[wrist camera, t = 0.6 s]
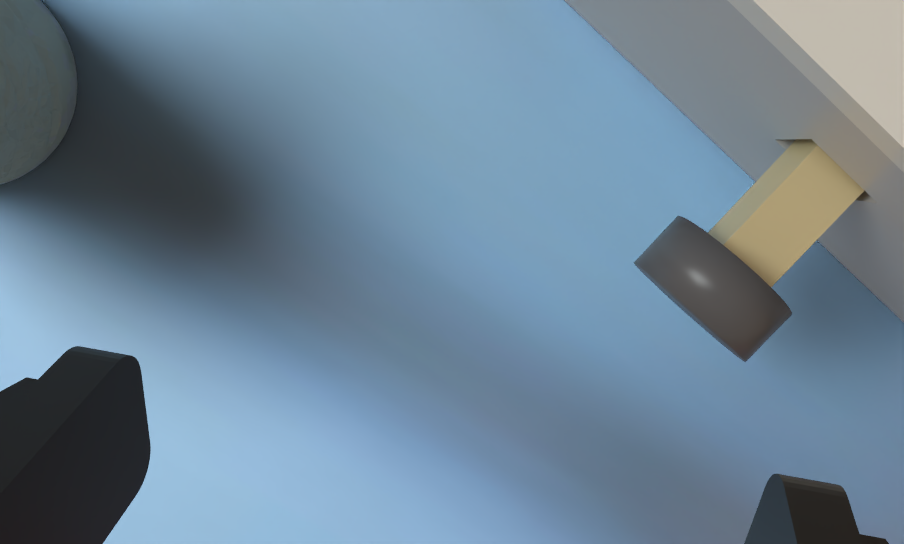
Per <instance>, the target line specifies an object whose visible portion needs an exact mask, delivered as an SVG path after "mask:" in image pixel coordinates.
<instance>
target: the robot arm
mask: <svg viewBox="0 0 904 544" xmlns="http://www.w3.org/2000/svg"><path fill="white" fill-rule="evenodd" d="M149 460H150V438H149V431H148V423H147V415H146V407H145V399H144V391H143V383H142V375H141V369H140V365H139V362H138V361H137V359H136V358H135V357H133V356H130V355H124V354H119V353H113V352H108V351H102V350H97V349H91V348H85V347H80V346H76V347H73V348H71V349H69V350H68V351H66V352H65V353H64V354H63V355H62V356H61V357H60V358H59V359H58V360H57V361H56V362H55V363H54V364H53V365H52V366H51V367H50V368H49V369H48V370H47V371H46V372H45V373H44V374H43V375H42V376H41V377H40V378H39V379H38V380H37V379H32V378H25V379H23V380H21V381H19V382H17V383H15V384H14V385H12V386H10V387H8V388H6V389H4V390H2V391H1V392H0V544H103V542H104V541H105V539H106V538H107V537H108V535H109V534H110V532H111V531H112V529H113V528H114V526H115V525H116V524H117V522H118V521H119V519H120V518H121V516H122V515H123V513H124V512H125V511H126V509H127V508H128V506H129V505H130V503H131V502H132V500H133V499H134V498H135V496H136V495H137V493H138V491H139V490H140V488H141V486H142V483H143V481H144V478H145V476H146V473H147V469H148V465H149ZM745 544H889V543H888V542H887V541H886V539H883V538H877V537H872V536H866V535H861V534H859V531H858V528H857V525H856V522H855V519H854V516H853V513H852V510H851V506H850V503H849V500H848V497H847V495H846V492H845V491H844V489H843V488H842V487H841V486H840V485H836V484H831V483H825V482H819V481H814V480H808V479H803V478H797V477H792V476H786V475H781V474H773V475H772V476H771V477H770V478H769V480H768V482H767V484H766V487H765V489H764V492H763V495H762V497H761V500H760V503H759V506H758V508H757V511H756V514H755V516H754V519H753V522H752V525H751V527H750V530H749V533H748V535H747V538H746V541H745Z"/></svg>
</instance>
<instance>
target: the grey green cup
mask: <svg viewBox="0 0 904 544" xmlns="http://www.w3.org/2000/svg"><path fill="white" fill-rule="evenodd" d="M77 86H78V81H77V71H76V64H75V60H74V55H73V53H72V50H71V47H70V45H69V42H68V39H67V37H66V35H65V33H64V31H63V30H62V28H61V26H60V24H59V23H58V21H57V20H56V19H55V17H54V16H53V15H52V13H51V12H50V11H49V9H48V8H47V7H46V6H45V5H44V4H43V3H42V2H41V0H0V184H4V183H7V182H10V181H13V180H15V179H17V178H20V177H22V176H23V175H25V174H27V173H28V172H30V171H32V170H33V169H35V168H36V167H37V166H39V165H40V164H41V163H42V162H43V161H45V160H46V159H47V158H48V157H49V155H50V154H51V153H52V152H53V151H54V150H55V149H56V148H57V147H58V145H59V144H60V142H61V140H62V139H63V137H64V136H65V134H66V132H67V130H68V127H69V125H70V123H71V120H72V118H73V115H74V111H75V106H76V102H77Z"/></svg>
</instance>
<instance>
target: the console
mask: <svg viewBox="0 0 904 544" xmlns="http://www.w3.org/2000/svg"><path fill="white" fill-rule="evenodd" d="M565 1H566V2H567V3H568V4H569V5H570V6H571V7H572V8H573V9H574V10H575V11H576V12H577V13H578V14H579V15H580V16H581V17H582V18H584V19H585V20H586V21H587V22H588V23H589V24H590V25H591V26H592V27H593V28H594V29H595V30H596V31H597V32H598V33H599V34H600V35H601V36H602V37H604V38H605V39H606V40H607V41H608V42H609V43H610V44H611V45H612V46H613V47H614V48H615V49H616V50H617V51H618V52H619V53H620V54H621V55H622V56H624V57H625V58H626V59H627V60H628V61H629V62H630V63H631V64H632V65H633V66H634V67H635V68H636V69H637V70H638V71H639V72H640V73H641V74H642V75H644V76H645V77H646V78H647V79H648V80H649V81H650V82H651V83H652V84H653V85H654V86H655V87H656V88H657V89H658V90H659V91H660V92H661V93H663V94H664V95H665V96H666V97H667V98H668V99H669V100H670V101H671V102H672V103H673V104H674V105H675V106H676V107H677V108H678V109H679V110H680V111H681V112H683V113H684V114H685V115H686V116H687V117H688V118H689V119H690V120H691V121H692V122H693V123H694V124H695V125H696V126H697V127H698V128H699V129H700V130H701V131H703V132H704V133H705V134H706V135H707V136H708V137H709V138H710V139H711V140H712V141H713V142H714V143H715V144H716V145H717V146H718V147H719V148H720V149H721V150H723V151H724V152H725V153H726V154H727V155H728V156H729V157H730V158H731V159H732V160H733V161H734V162H735V163H736V164H737V165H738V166H739V167H740V168H741V169H743V170H744V171H745V172H746V173H747V174H748V175H749V176H750V177H751V178H752V179H753V180H754V181H755V182H756V181H757V180H758V179H759V178H760V177H761V176H762V175H763V174H764V173H765V172H766V171H767V170H768V169H769V168H770V167H771V165H772V164H773V163H774V162H775V161H776V160H777V159H778V158H779V157H780V156H781V155H782V154H783V153H784V152H785V151H786V150H787V149H788V147H789V146H790V145H791V144H792V143H793V142H794V141H795V140H796V139H812V140H813V141H814V142H815V143H816V144H817V145H818V146H819V147H820V148H821V149H822V150H823V151H824V152H825V153H826V154H827V155H828V156H829V157H830V158H831V159H832V160H833V161H834V162H836V163H837V164H838V165H839V166H840V167H841V168H842V169H843V170H844V171H845V172H846V173H847V174H848V175H849V176H850V177H851V178H852V179H853V180H854V181H855V182H856V183H857V184H858V185H859V186H860V187H861V188H862V189H863V190H864V192H863V193H862V194H861V195H860V196H859V197H858V198H857V199H856V200H855V201H854V202H853V203H852V204H851V205H850V206H849V207H848V208H847V209H846V210H845V211H844V212H843V213H842V214H841V215H840V216H839V217H838V218H837V220H836V221H835V222H834V223H833V224H832V225H831V226H830V227H829V228H828V229H827V230H826V231H825V232H824V233H823V234H822V235H821V236H820V237H819V238H818V239H817V241H818V242H819V243H820V244H822V245H823V246H824V247H825V248H826V249H827V250H828V251H829V252H830V253H831V254H832V255H833V256H834V257H835V258H836V259H837V260H838V261H839V262H840V263H842V264H843V265H844V266H845V267H846V268H847V269H848V270H849V271H850V272H851V273H852V274H853V275H854V276H855V277H856V278H857V279H858V280H859V281H860V282H862V283H863V284H864V285H865V286H866V287H867V288H868V289H869V290H870V291H871V292H872V293H873V294H874V295H875V296H876V297H877V298H878V299H879V300H880V301H882V302H883V303H884V304H885V305H886V306H887V307H888V308H889V309H890V310H891V311H892V312H893V313H894V314H895V315H896V316H897V317H898V318H899V319H900V320H902V321H903V322H904V0H565Z"/></svg>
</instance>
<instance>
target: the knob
mask: <svg viewBox="0 0 904 544" xmlns="http://www.w3.org/2000/svg"><path fill="white" fill-rule="evenodd" d="M863 192H864V190H863V189H862V188H861V187H860V186H859V185H858V184H857V183H856V182H855V181H854V180H853V179H852V178H851V177H850V176H849V175H848V174H847V173H846V172H845V171H844V170H843V169H842V168H841V167H840V166H839V165H838V164H837V163H836V162H834V161H833V160H832V159H831V158H830V157H829V156H828V155H827V154H826V153H825V152H824V151H823V150H822V149H821V148H820V147H819V146H818V145H817V144H816V143H815V142H814V141H813V140H812V139H796V140H795V141H794V142H793V143H792V144H791V145H790V146H789V147H788V149H787V150H786V151H785V152H784V153H783V154H782V155H781V156H780V157H779V158H778V159H777V160H776V161H775V162H774V163H773V164H772V165H771V167H770V168H769V169H768V170H767V171H766V172H765V173H764V174H763V175H762V176H761V177H760V178H759V179H758V180H757V181H756V182H755V183H754V185H753V186H752V187H751V188H750V189H749V190H748V191H747V192H746V193H745V194H744V195H743V196H742V197H741V198H740V199H739V200H738V201H737V203H736V204H735V205H734V206H733V207H732V208H731V209H730V210H729V211H728V212H727V213H726V214H725V215H724V216H723V217H722V218H721V219H720V221H719V222H718V223H717V224H716V225H715V226H714V227H713V228H712V229H711V230H710V231H709V232H708V233H707V232H706V231H704V230H703V229H701V228H700V227H698V226H697V225H695V224H694V223H692V222H691V221H689V220H687V219H685V218H683V217H681V216H677V217H676V218H675V219H674V220H673V222H672V223H671V224H670V225H669V226H668V227H667V228H666V229H665V230H664V231H663V232H662V233H661V234H660V235H659V237H658V238H657V239H656V240H655V241H654V242H653V243H652V244H651V245H650V246H649V247H648V248H647V249H646V250H645V251H644V253H643V254H642V255H641V256H640V257H639V258H638V259H637V260H636V261H635V262H634V264H635V265H636V266H637V267H638V268H639V269H640V271H641V272H642V273H643V274H644V275H645V276H646V277H647V278H649V279H650V280H651V281H652V282H653V283H654V284H655V285H656V286H657V287H658V288H659V289H660V290H661V291H662V292H663V293H664V294H666V295H667V296H668V297H669V298H670V299H671V300H672V301H673V302H674V303H675V304H676V305H678V306H679V307H680V308H681V309H682V310H683V311H684V312H685V313H687V314H688V315H689V316H690V317H691V318H692V319H693V320H694V321H696V322H697V323H698V324H699V325H700V326H701V327H702V328H704V329H705V330H706V331H707V332H708V333H709V334H711V335H712V336H713V337H714V338H715V339H716V340H718V341H719V342H720V343H721V344H722V345H724V346H725V347H726V348H727V349H728V350H730V351H731V352H732V353H733V354H735V355H736V356H737V357H739V358H740V359H741V360H743V361H744V362H746V361H747V360H748V359H749V358H750V357H751V356H752V355H753V354H754V353H755V352H756V351H757V350H758V349H759V348H760V347H761V346H762V345H763V344H764V343H765V342H766V341H767V339H768V338H769V337H770V336H771V335H772V334H773V333H774V332H775V331H776V330H777V329H778V328H779V327H780V326H781V325H782V324H783V323H784V322H785V321H786V320H787V319H788V318H789V317H790V316H791V315H792V312H791V310H790V308H789V307H788V306H787V304H786V303H785V302H784V301H783V300H782V298H781V297H780V296H779V295H778V294H777V293H776V292H775V291H774V290H773V289H772V288H771V287H772V286H773V285H774V284H775V283H776V282H777V281H778V280H779V279H780V278H781V277H782V276H783V275H784V273H785V272H786V271H787V270H788V269H789V268H790V267H791V266H792V265H793V264H794V263H795V262H796V261H797V260H798V259H799V258H800V257H801V256H802V255H803V254H804V253H805V252H806V251H807V250H808V249H809V248H810V247H811V245H812V244H813V243H814V242H815V241H816V240H817V239H818V238H819V237H820V236H821V235H822V234H823V233H824V232H825V231H826V230H827V229H828V228H829V227H830V226H831V225H832V224H833V223H834V222H835V221H836V220H837V218H838V217H839V216H840V215H841V214H842V213H843V212H844V211H845V210H846V209H847V208H848V207H849V206H850V205H851V204H852V203H853V202H854V201H855V200H856V199H857V198H858V197H859V196H860V195H861V194H862V193H863Z"/></svg>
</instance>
